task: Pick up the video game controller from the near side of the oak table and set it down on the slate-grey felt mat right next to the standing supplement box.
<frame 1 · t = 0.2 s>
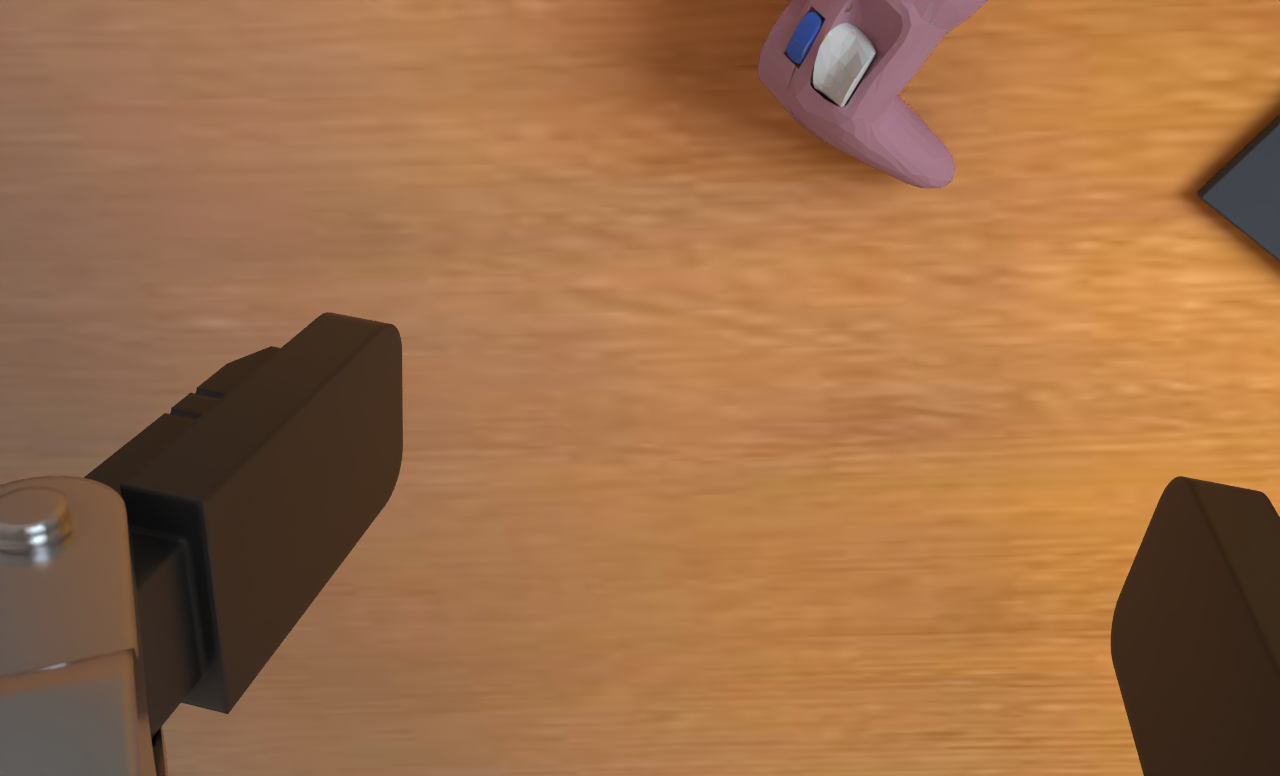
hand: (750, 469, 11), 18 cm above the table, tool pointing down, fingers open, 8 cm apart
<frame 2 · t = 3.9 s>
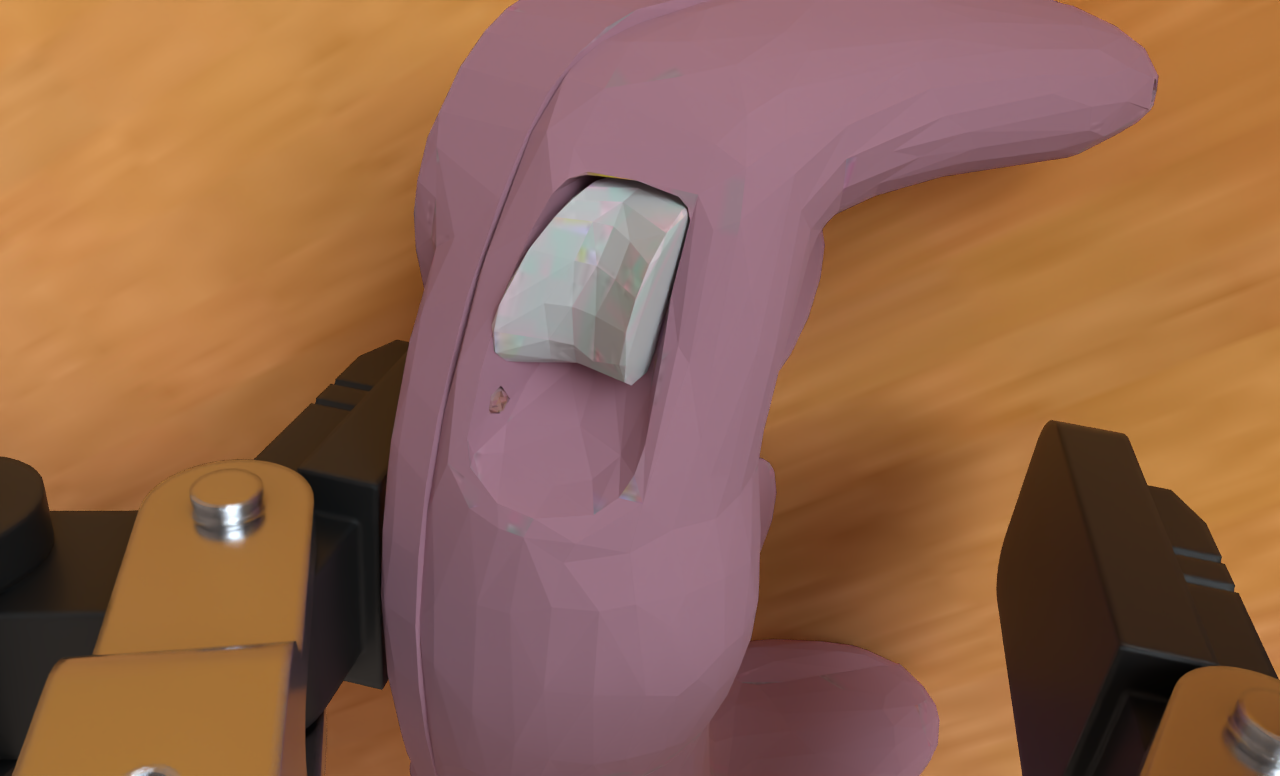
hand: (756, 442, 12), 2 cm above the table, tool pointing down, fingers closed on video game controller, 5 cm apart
video game controller: (775, 369, 13), on the table, touching gripper
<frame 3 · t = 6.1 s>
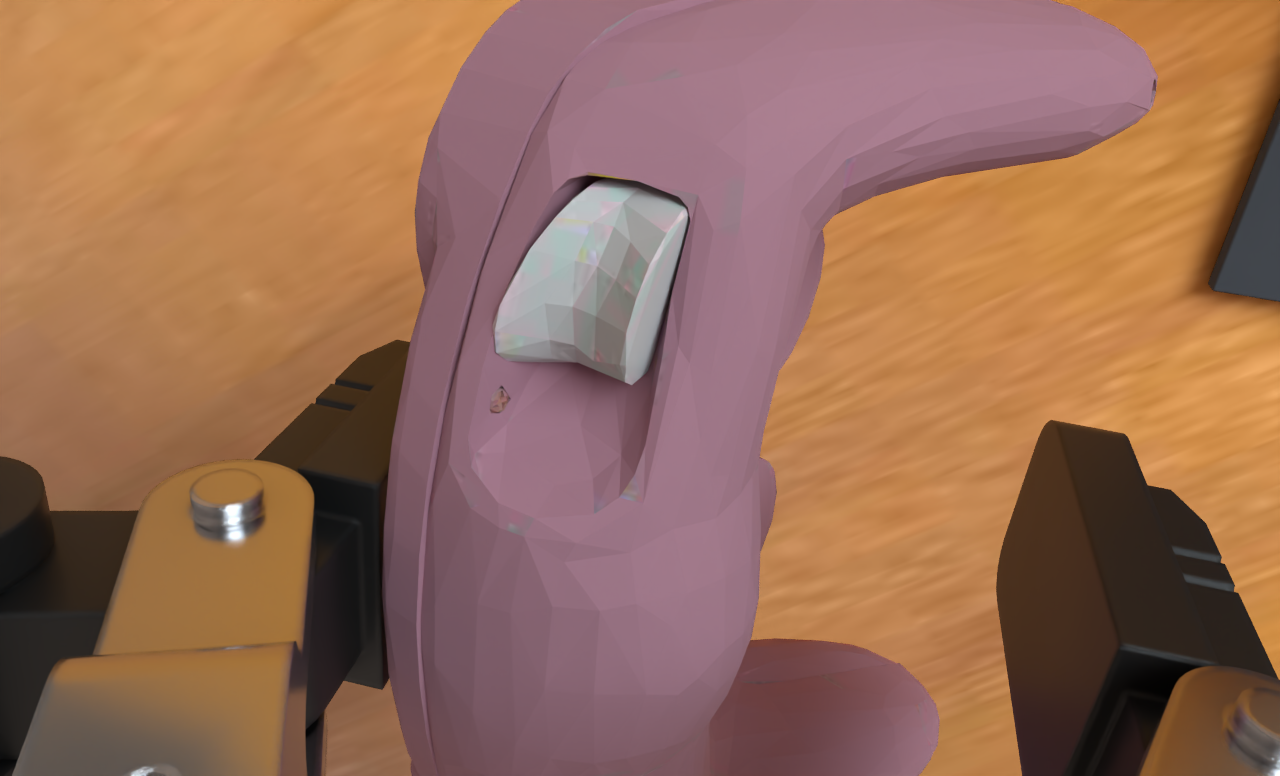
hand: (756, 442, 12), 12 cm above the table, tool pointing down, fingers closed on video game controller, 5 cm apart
video game controller: (775, 369, 13), point 10 cm above the table, touching gripper
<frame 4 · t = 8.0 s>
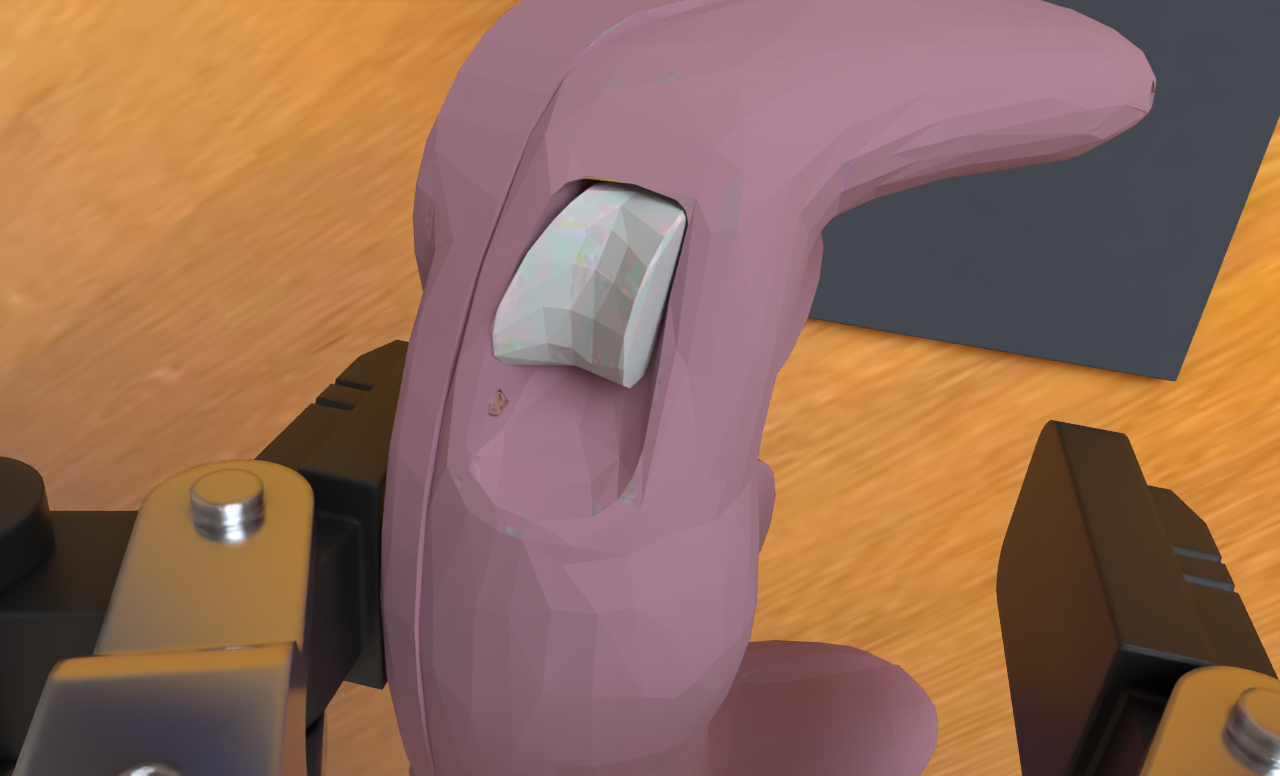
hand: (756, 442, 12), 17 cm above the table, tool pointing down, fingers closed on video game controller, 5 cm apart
video game controller: (774, 371, 13), point 15 cm above the table, touching gripper
felt mat: (970, 71, 25), on the table
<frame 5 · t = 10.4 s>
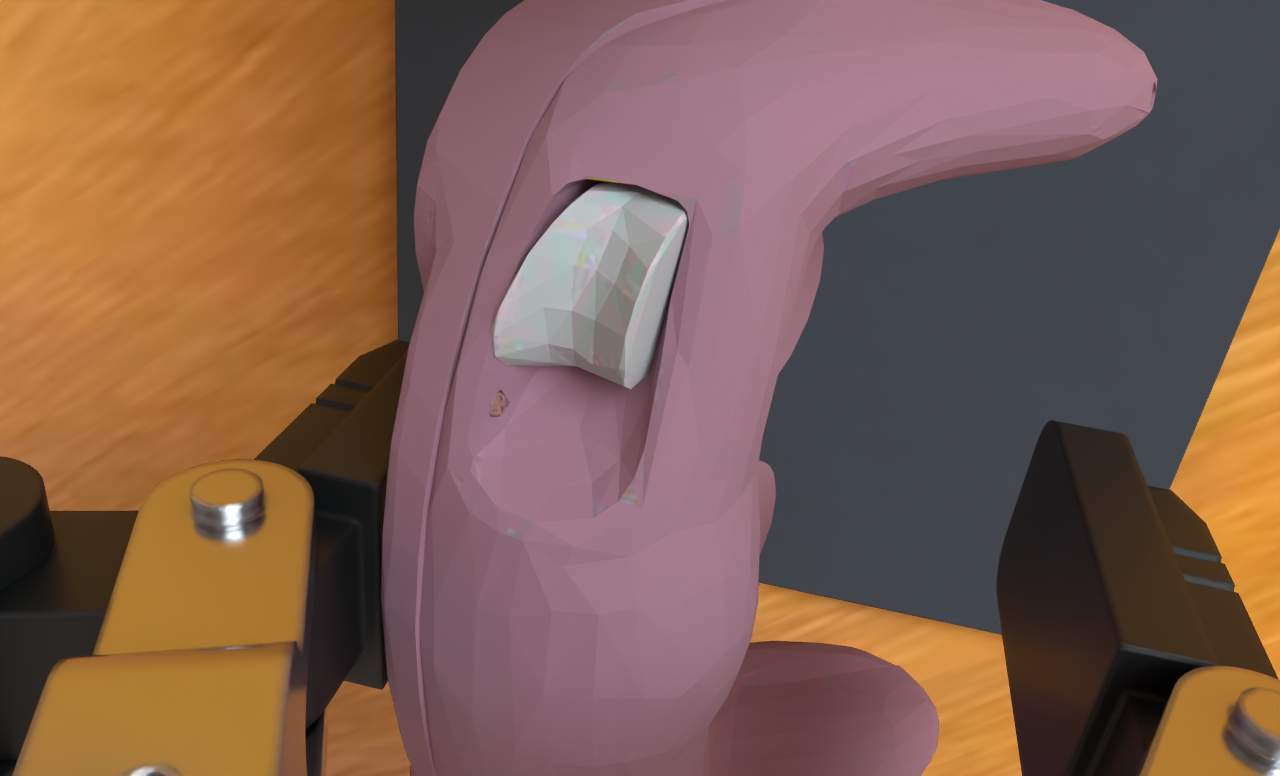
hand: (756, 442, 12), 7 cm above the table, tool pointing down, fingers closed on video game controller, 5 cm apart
video game controller: (775, 372, 13), point 5 cm above the table, touching gripper
felt mat: (797, 237, 18), on the table
when the fingers open (2 cm above the table, at t = 12.1 s): video game controller stays where it is, resting on felt mat.
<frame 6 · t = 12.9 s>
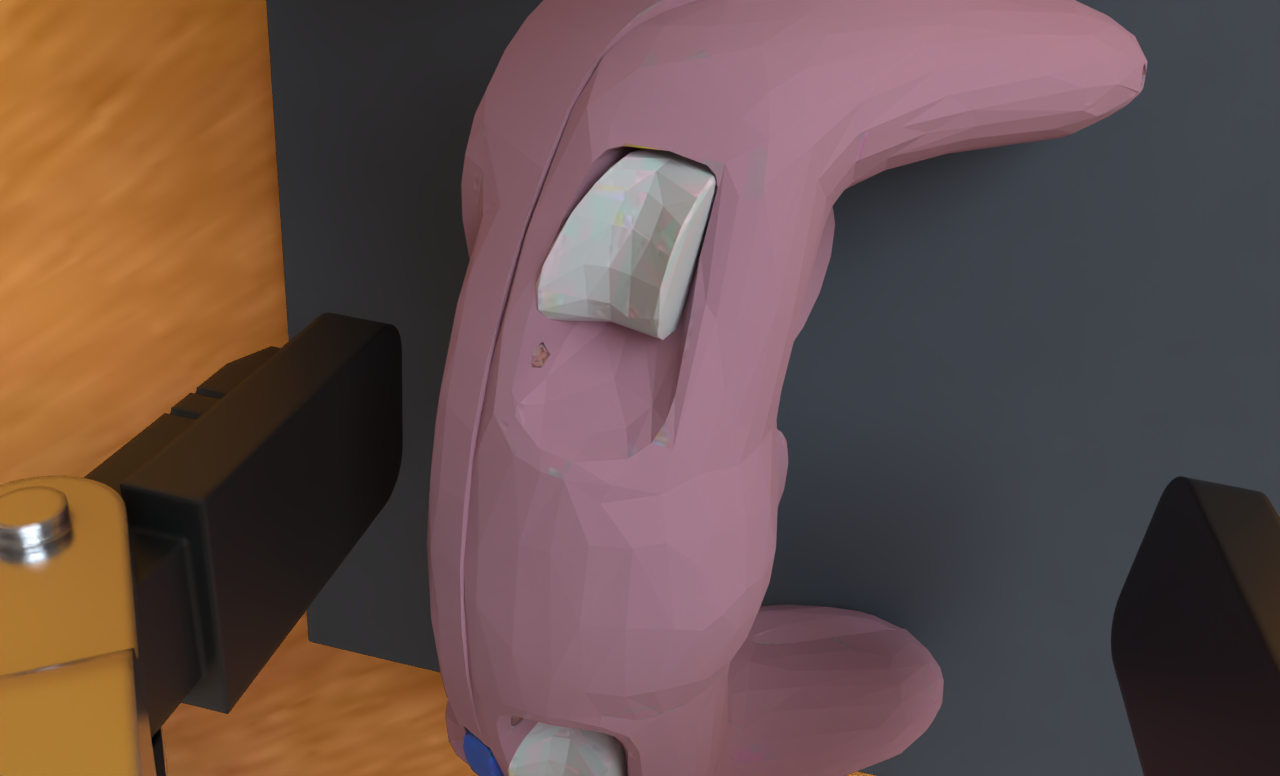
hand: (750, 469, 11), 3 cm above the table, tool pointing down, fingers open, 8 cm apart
video game controller: (787, 345, 14), resting on felt mat
felt mat: (783, 342, 14), on the table
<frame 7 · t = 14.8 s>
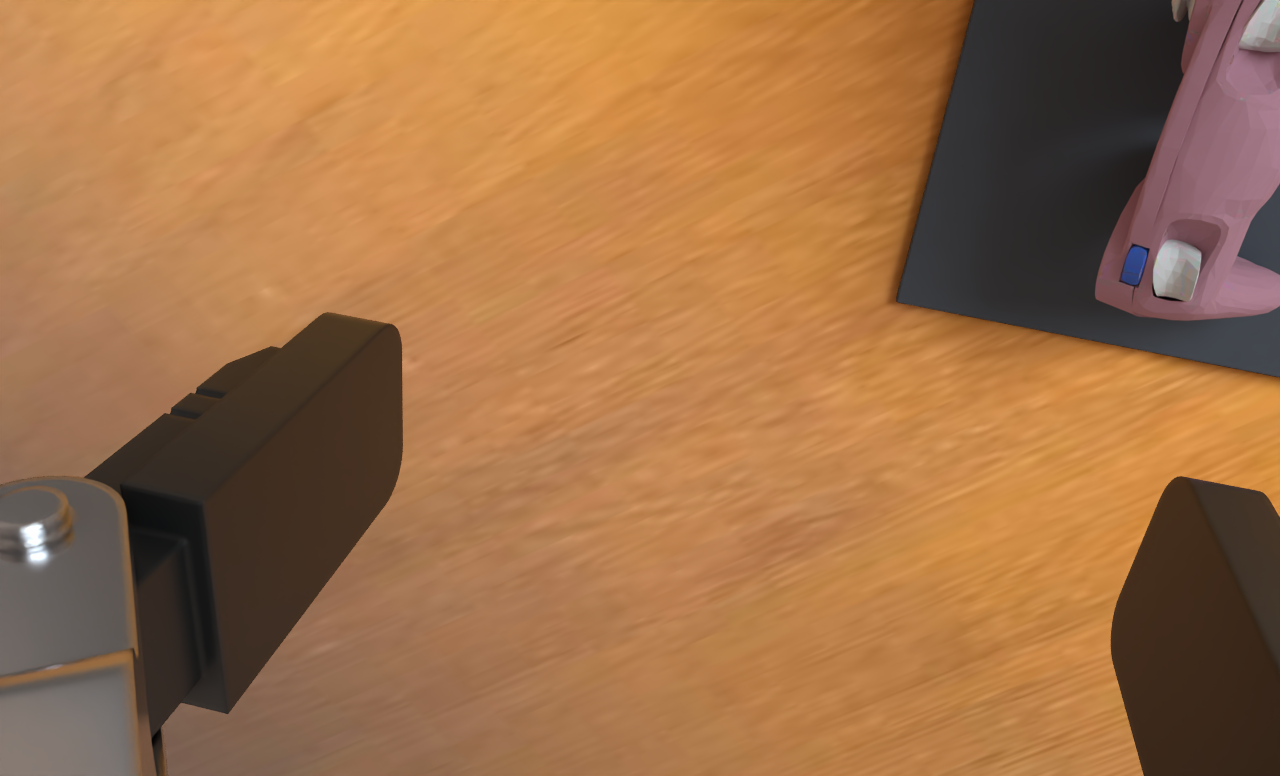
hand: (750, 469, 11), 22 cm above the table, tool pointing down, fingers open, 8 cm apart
video game controller: (1219, 114, 28), resting on felt mat
felt mat: (1215, 113, 28), on the table
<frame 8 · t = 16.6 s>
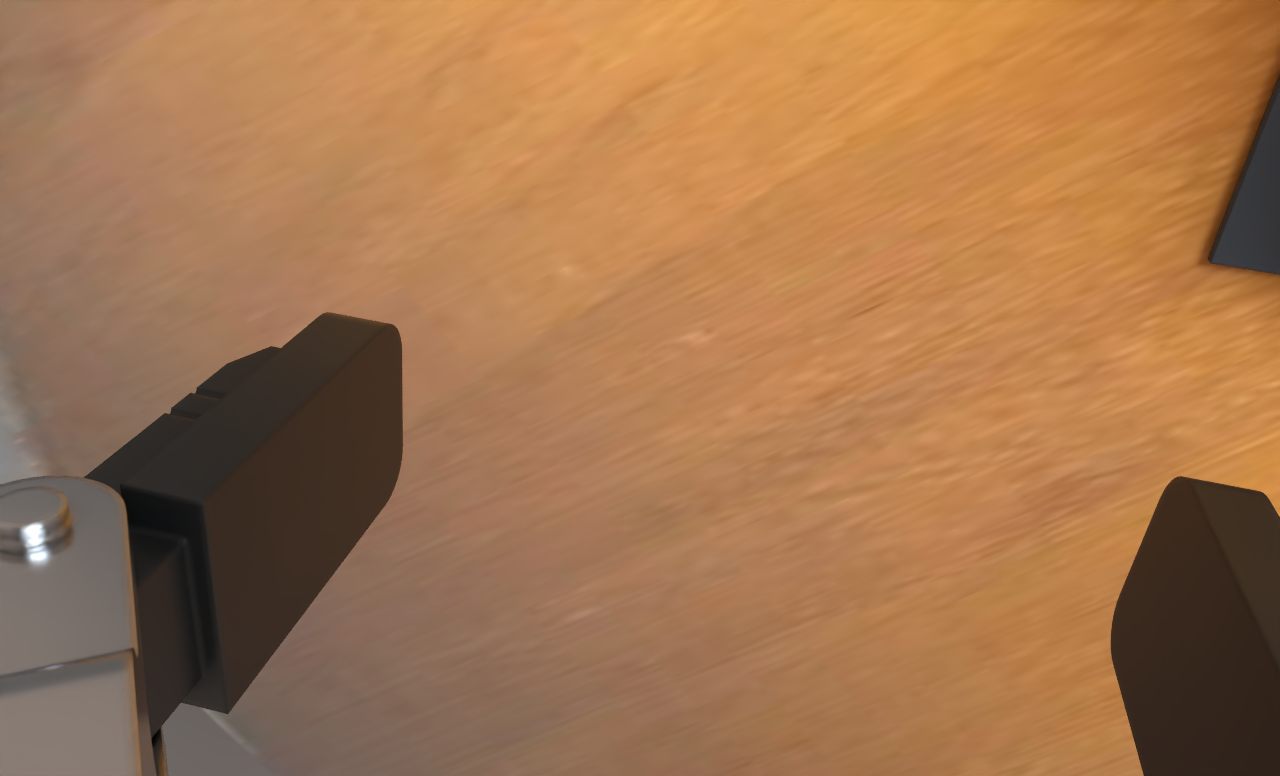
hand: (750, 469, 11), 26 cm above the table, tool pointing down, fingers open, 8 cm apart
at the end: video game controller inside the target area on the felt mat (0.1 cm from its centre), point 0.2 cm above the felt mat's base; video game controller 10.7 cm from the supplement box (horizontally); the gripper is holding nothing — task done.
